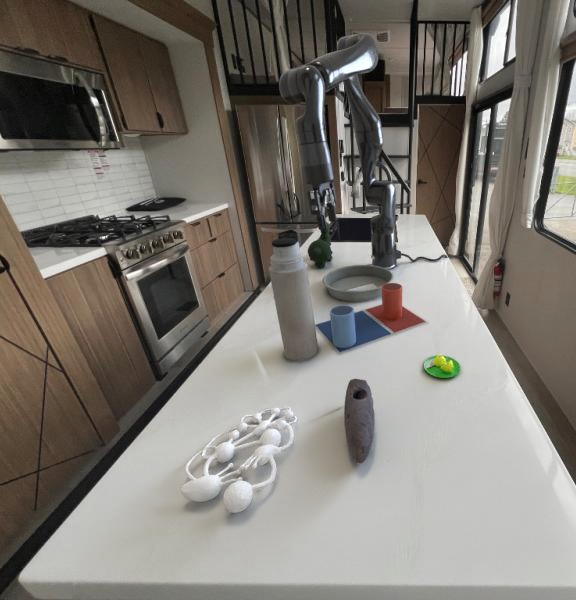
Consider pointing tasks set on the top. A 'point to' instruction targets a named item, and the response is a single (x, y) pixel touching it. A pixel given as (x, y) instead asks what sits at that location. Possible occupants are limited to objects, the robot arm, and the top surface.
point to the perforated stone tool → (359, 419)
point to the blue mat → (358, 330)
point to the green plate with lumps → (443, 366)
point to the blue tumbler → (343, 326)
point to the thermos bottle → (293, 300)
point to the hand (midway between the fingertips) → (328, 225)
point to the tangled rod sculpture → (240, 491)
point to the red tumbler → (392, 301)
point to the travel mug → (290, 236)
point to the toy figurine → (321, 249)
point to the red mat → (398, 324)
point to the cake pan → (357, 281)
